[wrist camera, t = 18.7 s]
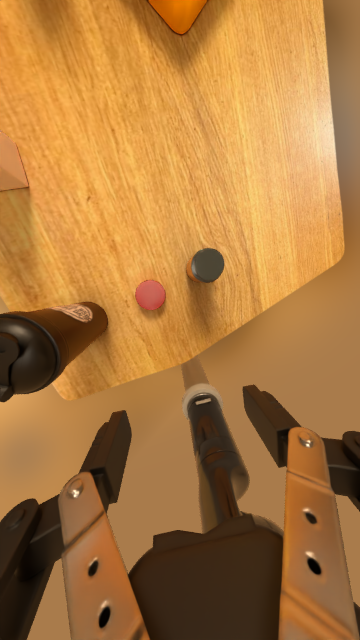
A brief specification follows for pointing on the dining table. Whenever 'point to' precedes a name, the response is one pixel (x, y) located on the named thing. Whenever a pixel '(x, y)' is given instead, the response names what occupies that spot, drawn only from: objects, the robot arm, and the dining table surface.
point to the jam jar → (205, 266)
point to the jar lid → (150, 294)
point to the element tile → (178, 12)
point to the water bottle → (44, 344)
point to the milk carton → (10, 165)
